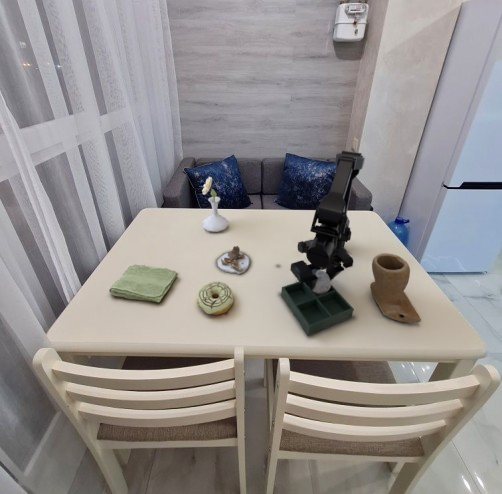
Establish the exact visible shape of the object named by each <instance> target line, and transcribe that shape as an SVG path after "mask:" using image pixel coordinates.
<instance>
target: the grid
mask: <svg viewBox="0 0 502 494" xmlns="http://www.w3.org/2000/svg"><path fill="white" fill-rule="evenodd" d="M280 291H281V293H280V296H281V297H282V299H283V300H284V302H285V303H286V305H287V307H288V308H289V309H290V311H291V312H292V313H293V316H294V317H295V318H296V321H298V323H299V324H300V326H301V328H302V329H303V330H304V332H305V333H306V335H307V336H308V337H309V336H311V335H313V334H316V333H318V332H321V331H323V330H326V329H328V328H330V327H333V326H335V325H337V324H339V323H342V322H344V321H347V320H350V319H352V318H353V314H354V311H355V308H354V307H353V306H352V305H351V304H350V303H349V302H348V301H347V300H346V298H344V297H343V295H342V294H341V293H340V292H339V291H338V290H337V289H336V288H335V287H334V286H333V285H332V284H331V287H330V289H329V290H328V291H327V292H326V293H324V294H317V293H315V292H313V291H312V290H311V288H310V286H309V283H308V281H307V282H304V283H301V282H299V281H296V282H293V283H290V284H287V285H284V286H281V290H280Z"/></svg>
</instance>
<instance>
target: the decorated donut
mask: <svg viewBox="0 0 502 494" xmlns="http://www.w3.org/2000/svg"><path fill="white" fill-rule="evenodd" d="M196 302H197V305H198V306H199V308H200V309H201V310H203V311H204V313H206V314H207V315H220V314H224V313H226V312H228V311H229V309H230V308H231V307H232V305H233V303H234V293H233V290H232V288H231V287H230V286H229V285H228V284H226V282H221V281H212V282H209V283H207V284H205V285H203V286H201V287H200V288H199V290H198V292H197V295H196Z"/></svg>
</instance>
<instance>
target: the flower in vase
mask: <svg viewBox="0 0 502 494" xmlns="http://www.w3.org/2000/svg"><path fill="white" fill-rule="evenodd" d="M212 182H213V177H211V176H208V178H206V180H205V183H204V184H203V188H202V189H201V192H202V195H204V196H205V195H207V193H208V192H209V191H210V190H211V191H210V195H211V197H209V198H208V199H207V200H208V202H209V203H210V205H211V211H212V213H211V214H210V215H208V216H207V217H206V218H205V219H204V220H203V221H202V228H204V229H205V231H208V232H211V233H212V232H213V233H216V232H222V231H224V230H225V229H227V228H228V227H229V220H228V219H227V218H226V217H225V216H223V215H221V214H219V212H218V207H219V206H218V205H219V203H220V201H221V197H219V196H217V192H216V191H215V189H214V188H212V187H211V186H212Z"/></svg>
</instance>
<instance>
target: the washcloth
mask: <svg viewBox="0 0 502 494" xmlns="http://www.w3.org/2000/svg"><path fill="white" fill-rule="evenodd" d="M178 274H179V273H178V272H177V271H176V270H173V269H170V268H167V267H165V268H164V267H157V266H156V267H155V266H148V265H144V264H131V265H129V266H128V268H127V269H126V270H125V271H124V272H123V274H122V276H121V277H120V278H119V279H118V280H116V281H115V282H114V283H113V284H112V285H111V286H110V288H109V290H108V291H109V294H111V295H112V296H114V297H121V298H125V299H127V300H128V299H129V300H136V301H137V300H139V301H149V302H156V303H161V300H162V299H163V297H164V296H165V295H166V293H168V291H169V289H170V288H171V286H172V284H173V282H174V281H175V279H176V277H178Z"/></svg>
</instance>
